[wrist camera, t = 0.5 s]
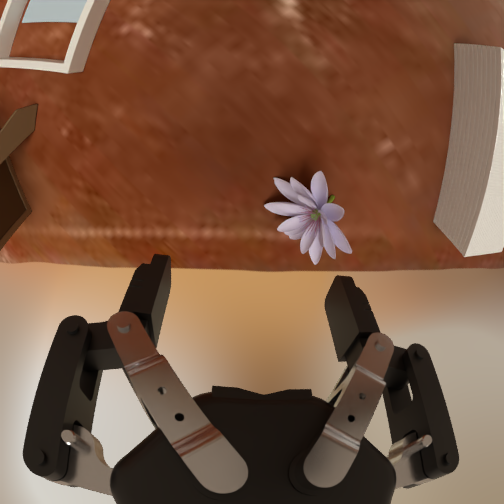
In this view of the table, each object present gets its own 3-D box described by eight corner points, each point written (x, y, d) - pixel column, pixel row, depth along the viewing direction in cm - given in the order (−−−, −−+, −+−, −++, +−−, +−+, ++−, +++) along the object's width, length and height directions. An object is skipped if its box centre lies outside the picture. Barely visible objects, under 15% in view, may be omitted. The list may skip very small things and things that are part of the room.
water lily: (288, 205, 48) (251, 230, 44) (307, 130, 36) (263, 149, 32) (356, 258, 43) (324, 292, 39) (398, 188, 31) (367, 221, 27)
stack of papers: (470, 220, 43) (501, 252, 34) (432, 221, 43) (464, 257, 34) (493, 61, 24) (538, 72, 15) (452, 43, 24) (500, 47, 15)
